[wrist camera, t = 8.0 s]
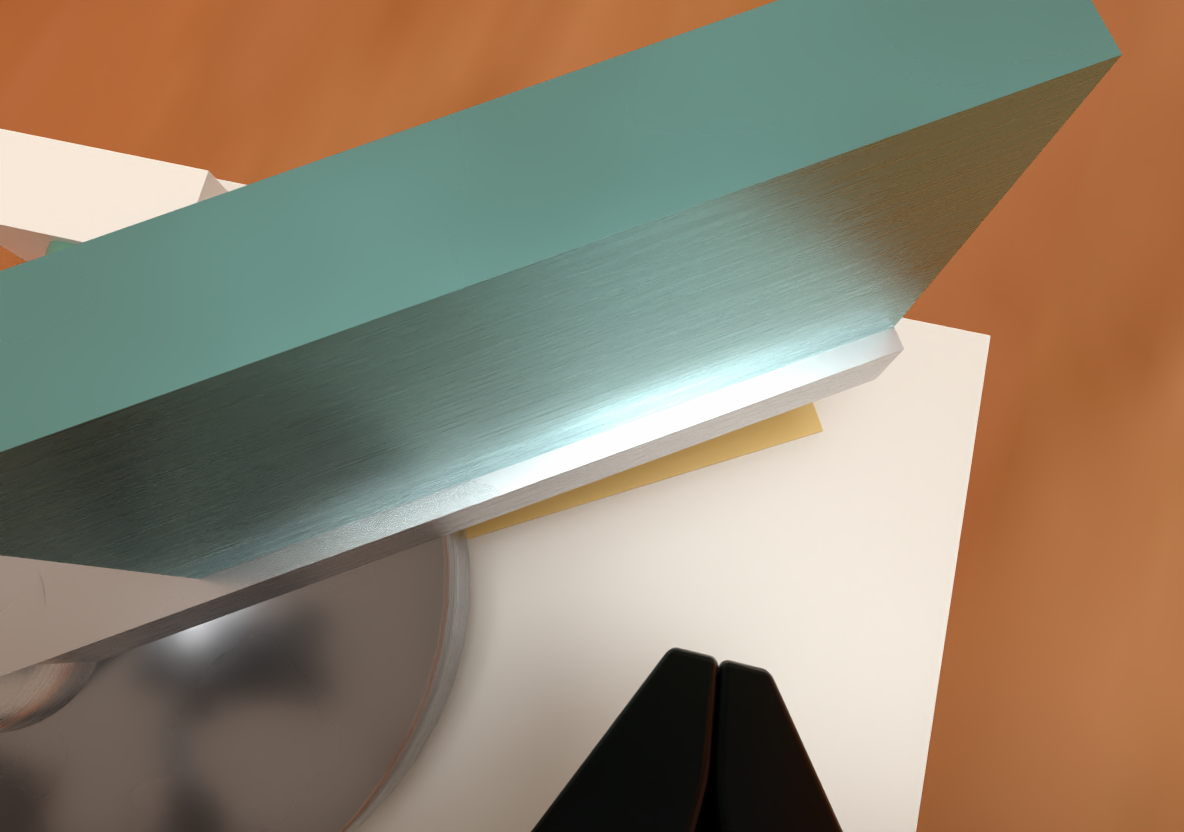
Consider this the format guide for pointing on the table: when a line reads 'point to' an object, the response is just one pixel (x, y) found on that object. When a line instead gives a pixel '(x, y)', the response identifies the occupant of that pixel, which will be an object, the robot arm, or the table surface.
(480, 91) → the table surface
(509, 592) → the plate
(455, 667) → the cam foot
